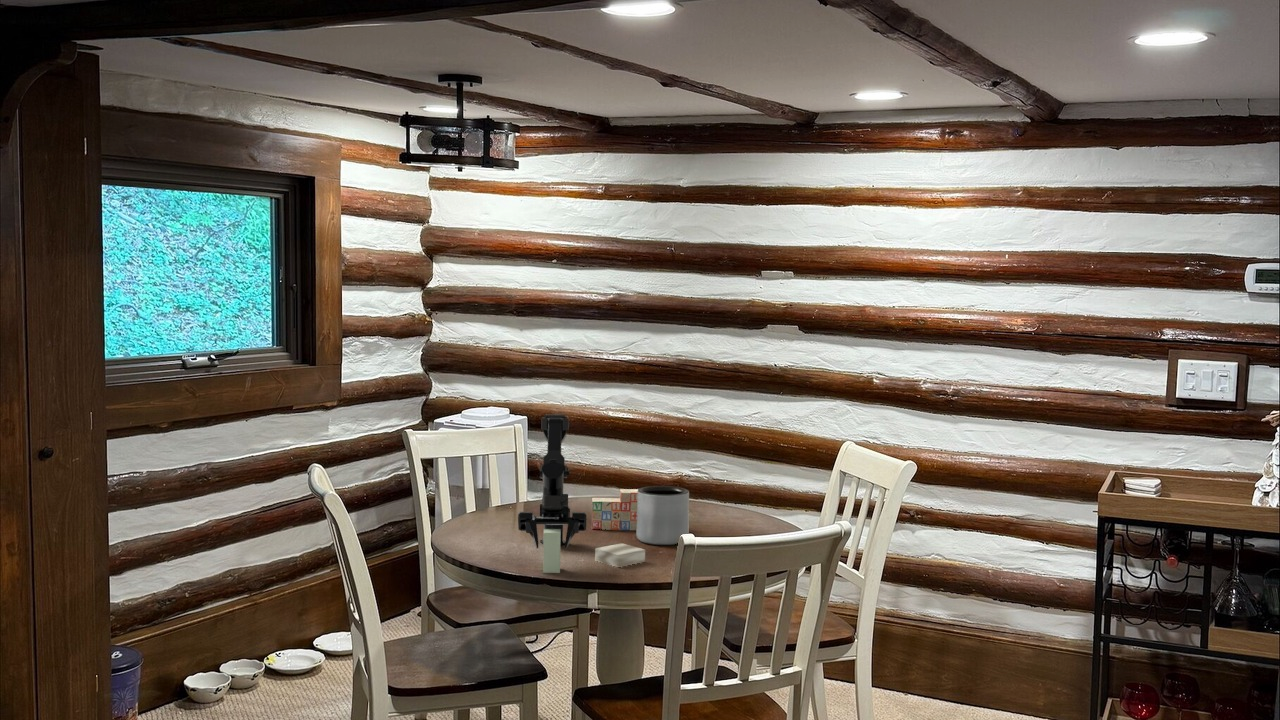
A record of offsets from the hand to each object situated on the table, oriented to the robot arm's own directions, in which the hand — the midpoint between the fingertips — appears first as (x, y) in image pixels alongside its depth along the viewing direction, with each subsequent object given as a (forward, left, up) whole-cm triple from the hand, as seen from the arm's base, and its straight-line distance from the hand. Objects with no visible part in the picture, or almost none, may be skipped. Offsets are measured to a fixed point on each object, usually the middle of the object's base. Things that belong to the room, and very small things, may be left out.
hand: (551, 547), depth 302 cm
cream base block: (-2, +22, -7) cm, 23 cm away
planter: (-20, +46, -7) cm, 51 cm away
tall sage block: (-1, +1, -7) cm, 7 cm away
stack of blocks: (-40, +44, -7) cm, 60 cm away
